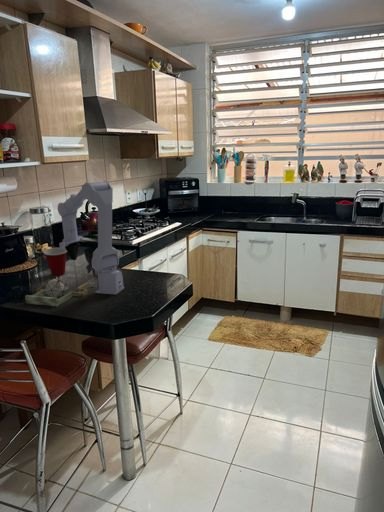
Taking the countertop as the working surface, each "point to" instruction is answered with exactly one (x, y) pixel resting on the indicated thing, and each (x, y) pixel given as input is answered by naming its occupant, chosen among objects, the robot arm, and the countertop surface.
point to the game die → (54, 288)
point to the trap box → (53, 301)
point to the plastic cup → (56, 260)
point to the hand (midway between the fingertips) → (73, 259)
